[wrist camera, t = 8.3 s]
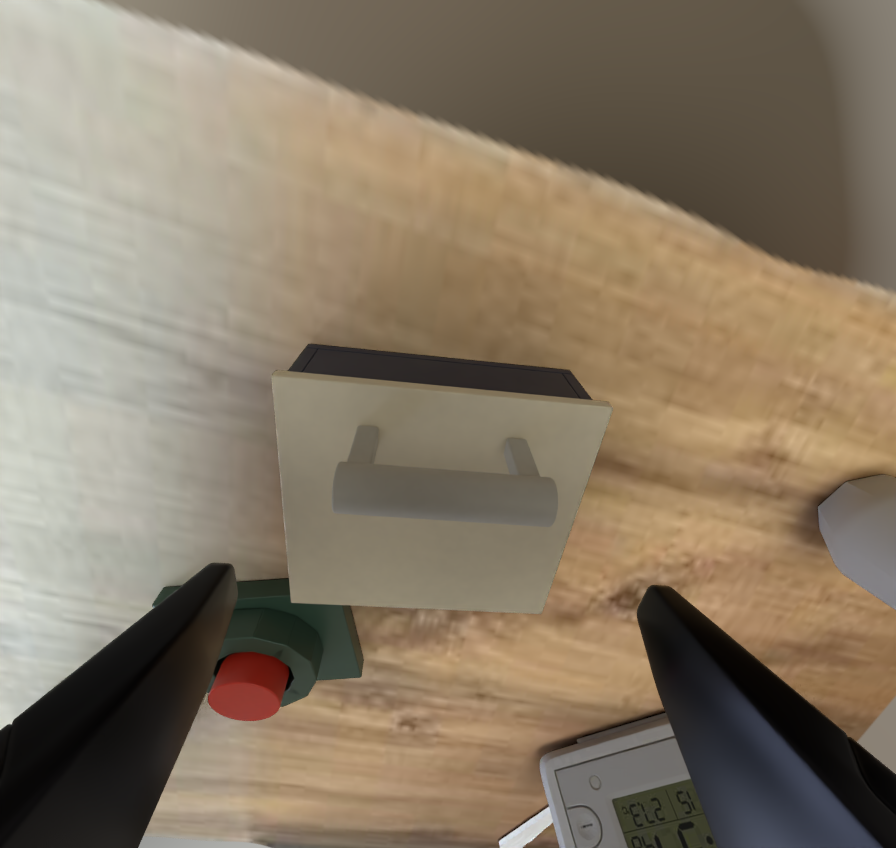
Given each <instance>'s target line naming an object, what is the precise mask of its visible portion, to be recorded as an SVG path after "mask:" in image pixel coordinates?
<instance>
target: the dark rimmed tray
mask: <svg viewBox="0 0 896 848" xmlns="http://www.w3.org/2000/svg"><path fill="white" fill-rule="evenodd" d="M288 371H292V372H302V373H313V374H323V375H334V376H344V377H355V378H365V379H376V380H386V381H397V382H408V383H418V384H429V385H439V386H450V387H460V388H471V389H481V390H492V391H502V392H513V393H523V394H534V395H544V396H555V397H565V398H576V399H586V400H592V399H591V397H590V396H589V395H588V393H587V392H586V391H585V389H584V388H583V387H582V386H581V384H580V383H579V382H578V380H577V379H576V378H575V376H574V375H573V374H572V373H571V371H570V370H563V369H553V368H543V367H533V366H524V365H514V364H504V363H494V362H484V361H474V360H464V359H455V358H445V357H435V356H425V355H415V354H405V353H395V352H386V351H376V350H366V349H356V348H346V347H336V346H326V345H317V344H308V345H307V346H306V348H305V349H304V350H303V352H302V353H301V354H300V356H299V357H298V358H297V359H296V361H295V362H294V363H293V365H292V366H291V367H290V369H289V370H288Z"/></svg>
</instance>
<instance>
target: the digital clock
mask: <svg viewBox="0 0 896 848" xmlns="http://www.w3.org/2000/svg"><path fill="white" fill-rule="evenodd" d="M577 743H578V744H575V745H571V746H568V747H565V748H561V749H558V750H555V751H551V752H549V753H547V754H545V755H544V756H543V757H542V758H541V760H540V773H541V777H542V781H543V785H544V789H545V793H546V797H547V800H548V804H549V808H550V812H551V816H552V820H553V823H554V827H555V831H556V835H557V839H558V842H559V846H560V848H717V846H716V843H715V841H714V838H713V835H712V833H711V830H710V827H709V825H708V822H707V820H706V817H705V814H704V812H703V809H702V806H701V804H700V801H699V799H698V796H697V793H696V791H695V788H694V785H693V783H692V780H691V778H690V775H689V772H688V770H687V767H686V764H685V762H684V759H683V757H682V754H681V751H680V749H679V746H678V743H677V741H676V738H675V736H674V733H673V730H672V728H671V725H670V722H669V720H668V717H667V714H666V713H663V714H660V715H656V716H653V717H650V718H646V719H643V720H639V721H636V722H633V723H629V724H626V725H623V726H619V727H616V728H613V729H609V730H606V731H603V732H599V733H596V734H593V735H589V736H586V737H583V738H579V739H577Z"/></svg>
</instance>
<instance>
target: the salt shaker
mask: <svg viewBox="0 0 896 848" xmlns="http://www.w3.org/2000/svg"><path fill="white" fill-rule="evenodd" d="M818 516H819V529H820V531H821V534H822V536H823V538H824V541H825V543H826V545H827V547H828V550H829V553H830V555H831V557H832V559H833V561H834V564H835V565H836V567H837V568H838V569H839V570H840V572H841V573H842V574H843V575H845V576H846V577H848V578H849V579H851V580H852V581H854V582H855V583H856V584H858V585H859V586H861V587H862V588H864V589H865V590H867V591H868V592H870V593H871V594H873V595H874V596H876V597H877V598H879V599H880V600H882V601H883V602H884V603H886V604H887V605H889V606H890V607H892V608H893V609H895V610H896V477H892V476H888V475H884V474H882V475H877V476H872V477H867V478H862V479H857V480H852V481H847V482H845V483H844V484H843V485H842V486H841V487H839V488H838V489H837V490H836V491H835V492H834V493H833V494H832V495H830V496H829V497H828V498H827V499H826V500H825V501H824V502H823V503H822V504H820V505H819V506H818Z"/></svg>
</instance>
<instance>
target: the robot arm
mask: <svg viewBox="0 0 896 848" xmlns="http://www.w3.org/2000/svg"><path fill="white" fill-rule="evenodd" d="M237 597H238V588H237V583H236V577H235V571H234V567H233V565H232V564H229V563H211V564H209V565H207V566H206V567H205V568H203V569H202V570H201V571H200V572H198V573H197V574H196V575H195V576H193V577H192V578H191V579H190V580H188V581H187V582H186V583H185V584H183V585H182V586H181V587H180V588H178V589H177V590H176V591H175V592H173V593H172V594H171V595H170V596H168V597H167V598H166V599H165V600H163V601H162V602H161V603H160V604H158V605H157V606H156V607H155V608H153V609H152V610H151V611H150V612H148V613H147V614H146V615H144V616H143V617H142V618H141V619H139V620H138V621H137V622H136V623H134V624H133V625H132V626H131V627H129V628H128V629H127V630H126V631H124V632H123V633H122V634H121V635H119V636H118V637H117V638H116V639H114V640H113V641H112V642H111V643H109V644H108V645H107V646H106V647H104V648H103V649H102V650H101V651H99V652H98V653H97V654H96V655H94V656H93V657H92V658H91V659H89V660H88V661H87V662H86V663H84V664H83V665H82V666H81V667H79V668H78V669H77V670H76V671H74V672H73V673H72V674H71V675H69V676H68V677H67V678H66V679H64V680H63V681H62V682H61V683H59V684H58V685H57V686H56V687H54V688H53V689H52V690H51V691H49V692H48V693H47V694H45V695H44V696H43V697H42V698H40V699H39V700H38V701H37V702H35V703H34V704H33V705H32V706H30V707H29V708H28V709H27V710H25V711H24V712H23V713H22V714H20V715H19V716H18V717H17V718H15V719H14V721H13V723H12V725H11V724H9V725H7V726H5V727H4V728H3V729H1V730H0V848H138V847H139V844H140V842H141V840H142V837H143V835H144V833H145V831H146V828H147V826H148V824H149V822H150V819H151V817H152V815H153V812H154V810H155V808H156V806H157V803H158V801H159V799H160V796H161V794H162V792H163V790H164V787H165V785H166V783H167V780H168V778H169V776H170V774H171V771H172V769H173V767H174V764H175V762H176V760H177V758H178V755H179V753H180V751H181V748H182V746H183V744H184V742H185V739H186V737H187V735H188V732H189V730H190V728H191V726H192V723H193V721H194V719H195V716H196V714H197V712H198V710H199V707H200V705H201V703H202V700H203V698H204V696H205V694H206V691H207V689H208V686H209V684H210V681H211V679H212V676H213V673H214V670H215V667H216V664H217V661H218V658H219V655H220V652H221V649H222V646H223V643H224V639H225V636H226V633H227V630H228V627H229V624H230V621H231V618H232V614H233V611H234V608H235V605H236V602H237ZM637 619H638V623H639V627H640V630H641V634H642V637H643V641H644V645H645V648H646V652H647V655H648V659H649V663H650V666H651V670H652V673H653V677H654V680H655V684H656V687H657V690H658V693H659V696H660V698H661V701H662V704H663V707H664V709H665V712H666V714H667V717H668V720H669V722H670V725H671V728H672V730H673V733H674V736H675V738H676V741H677V743H678V746H679V749H680V751H681V754H682V757H683V759H684V762H685V764H686V767H687V770H688V772H689V775H690V778H691V780H692V783H693V785H694V788H695V791H696V793H697V796H698V799H699V801H700V804H701V806H702V809H703V812H704V814H705V817H706V820H707V822H708V825H709V827H710V830H711V833H712V835H713V838H714V841H715V843H716V846H717V848H896V774H895V773H893V772H892V771H891V770H890V769H888V768H887V767H886V766H885V765H884V764H882V763H881V762H880V761H879V760H877V759H876V758H875V757H874V756H873V755H871V754H870V753H869V752H868V751H867V750H865V749H864V748H863V747H862V746H861V745H860V744H858V743H857V742H856V741H855V740H854V739H852V738H851V737H847V735H846V733H845V732H844V731H843V730H841V729H840V728H839V727H838V726H837V725H835V724H834V723H833V722H832V721H831V720H829V719H828V718H827V717H826V716H825V715H823V714H822V713H821V712H820V711H819V710H817V709H816V708H815V707H814V706H813V705H811V704H810V703H809V702H808V701H807V700H805V699H804V698H803V697H802V696H801V695H799V694H798V693H797V692H796V691H795V690H794V689H792V688H791V687H790V686H789V685H788V684H786V683H785V682H784V681H783V680H782V679H780V678H779V677H778V676H777V675H776V674H774V673H773V672H772V671H771V670H770V669H768V668H767V667H766V666H765V665H764V664H762V663H761V662H760V661H759V660H758V659H756V658H755V657H754V656H753V655H752V654H750V653H749V652H748V651H747V650H746V649H744V648H743V647H742V646H741V645H740V644H738V643H737V642H736V641H735V640H734V639H732V638H731V637H730V636H729V635H728V634H726V633H725V632H724V631H723V630H722V629H720V628H719V627H718V626H717V625H716V624H715V623H713V622H712V621H711V620H710V619H709V618H707V617H706V616H705V615H704V614H703V613H701V612H700V611H699V610H698V609H697V608H695V607H694V606H693V605H692V604H691V603H689V602H688V601H687V600H686V599H685V598H683V597H682V596H681V595H680V594H679V593H677V592H676V591H675V590H674V589H672V588H671V587H669V586H664V585H651V586H650V587H648V589H647V591H646V593H645V595H644V597H643V599H642V601H641V603H640V604H639V606H638V610H637Z"/></svg>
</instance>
